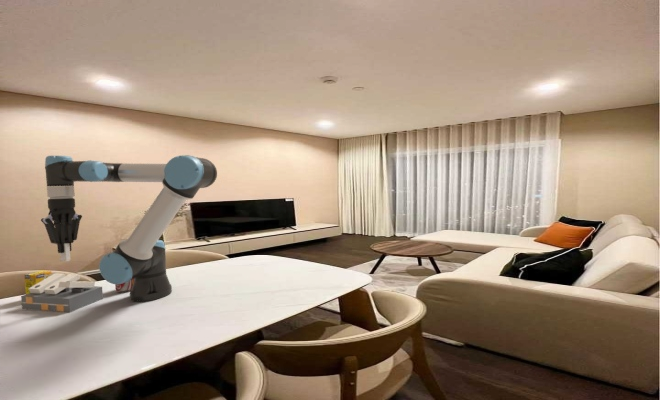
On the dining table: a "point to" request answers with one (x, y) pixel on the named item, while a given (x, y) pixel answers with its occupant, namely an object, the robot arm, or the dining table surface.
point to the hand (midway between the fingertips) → (65, 260)
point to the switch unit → (62, 299)
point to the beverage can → (124, 286)
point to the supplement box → (35, 279)
